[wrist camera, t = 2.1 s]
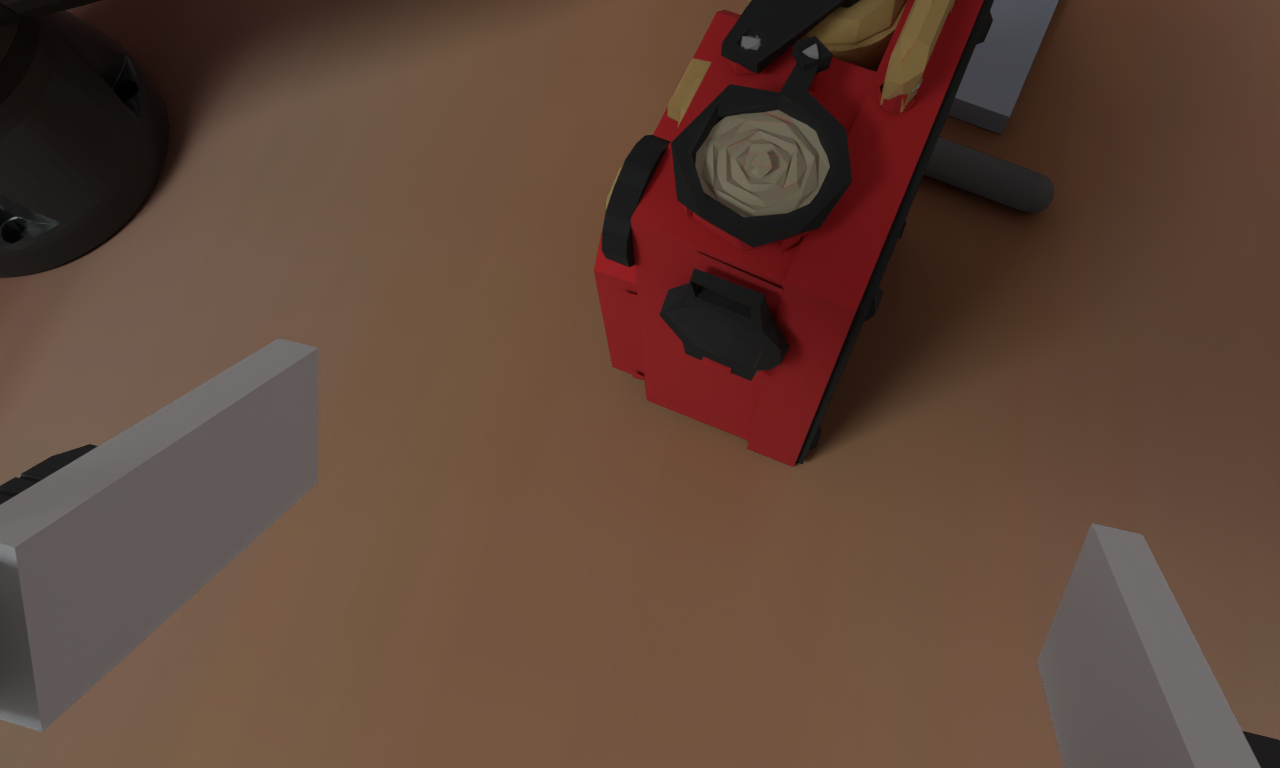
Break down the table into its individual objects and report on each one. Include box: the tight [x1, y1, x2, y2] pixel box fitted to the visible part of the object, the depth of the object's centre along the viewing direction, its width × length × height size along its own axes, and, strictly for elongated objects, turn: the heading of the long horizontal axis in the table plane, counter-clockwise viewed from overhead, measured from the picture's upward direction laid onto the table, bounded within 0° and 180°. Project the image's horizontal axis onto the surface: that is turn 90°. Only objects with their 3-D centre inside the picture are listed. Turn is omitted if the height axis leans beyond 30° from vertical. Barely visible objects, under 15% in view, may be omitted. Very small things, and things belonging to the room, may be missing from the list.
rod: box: [924, 137, 1054, 213], centre depth 50 cm, size 20×2×2 cm, turn 64°
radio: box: [594, 0, 994, 467], centre depth 39 cm, size 16×10×20 cm, turn 156°
